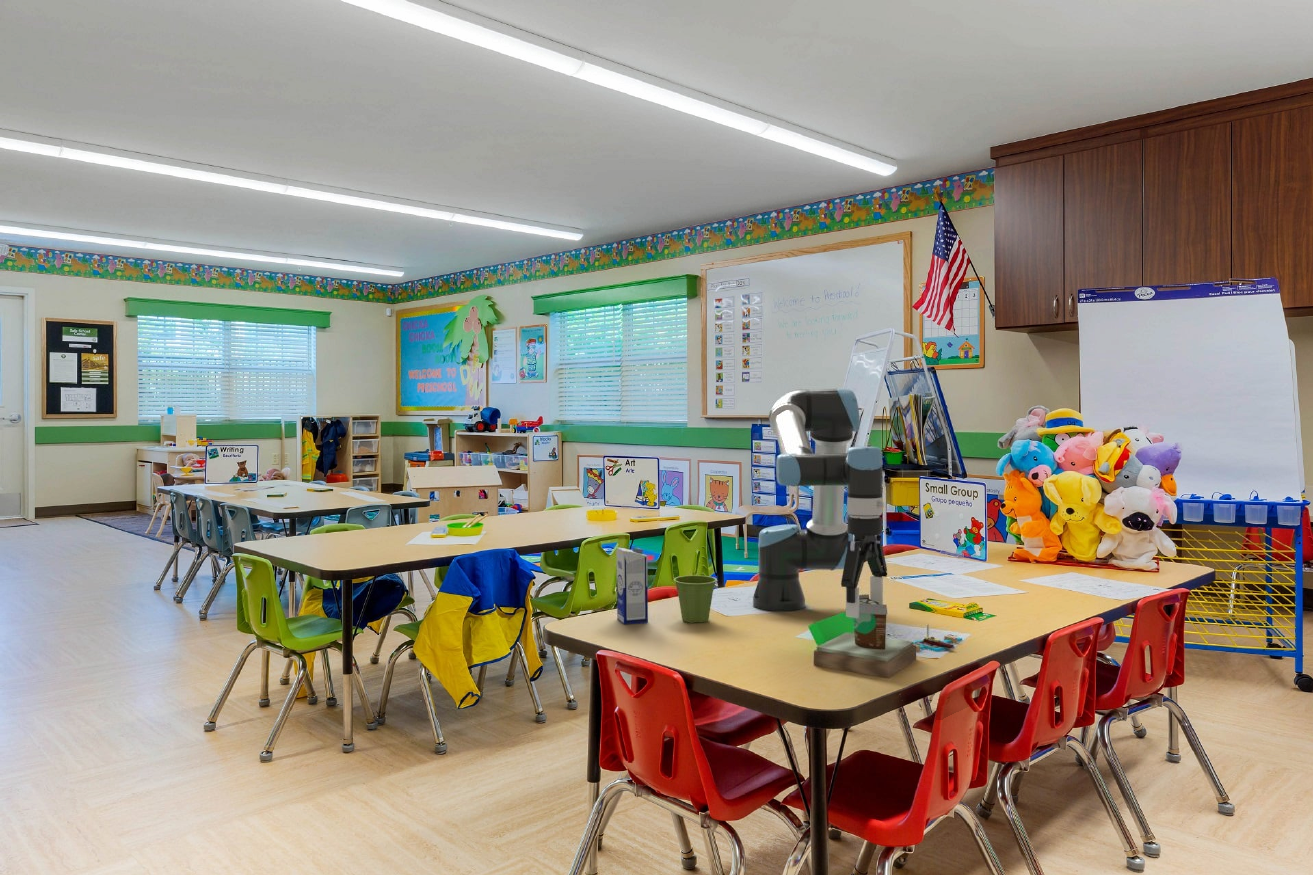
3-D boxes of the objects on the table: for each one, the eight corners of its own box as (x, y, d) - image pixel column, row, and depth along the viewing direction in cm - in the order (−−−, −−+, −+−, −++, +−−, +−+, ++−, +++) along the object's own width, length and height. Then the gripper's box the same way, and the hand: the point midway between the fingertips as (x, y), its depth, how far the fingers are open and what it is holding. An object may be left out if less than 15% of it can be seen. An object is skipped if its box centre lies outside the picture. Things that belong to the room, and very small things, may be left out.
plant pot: (669, 624, 229) (668, 582, 229) (679, 614, 241) (679, 574, 241) (712, 626, 226) (712, 583, 226) (721, 616, 238) (720, 576, 237)
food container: (842, 637, 197) (841, 594, 197) (868, 637, 197) (868, 593, 197) (859, 652, 185) (859, 605, 184) (887, 651, 185) (887, 604, 185)
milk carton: (617, 618, 236) (616, 546, 236) (640, 616, 238) (639, 545, 238) (624, 624, 229) (623, 549, 229) (648, 622, 231) (647, 548, 231)
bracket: (838, 649, 218) (825, 622, 220) (869, 634, 212) (855, 607, 215) (797, 666, 203) (784, 637, 205) (829, 651, 197) (815, 621, 200)
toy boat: (979, 647, 205) (947, 638, 213) (978, 624, 205) (947, 617, 213) (921, 659, 195) (890, 650, 203) (921, 636, 195) (890, 627, 203)
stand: (813, 665, 189) (813, 647, 189) (845, 648, 203) (845, 631, 203) (888, 677, 179) (888, 658, 179) (916, 659, 193) (916, 641, 193)
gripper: (858, 523, 178) (858, 624, 179) (901, 511, 199) (901, 602, 199) (824, 521, 183) (825, 620, 184) (870, 509, 203) (870, 598, 204)
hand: (864, 611), depth 191 cm, fingers open, 13 cm apart
